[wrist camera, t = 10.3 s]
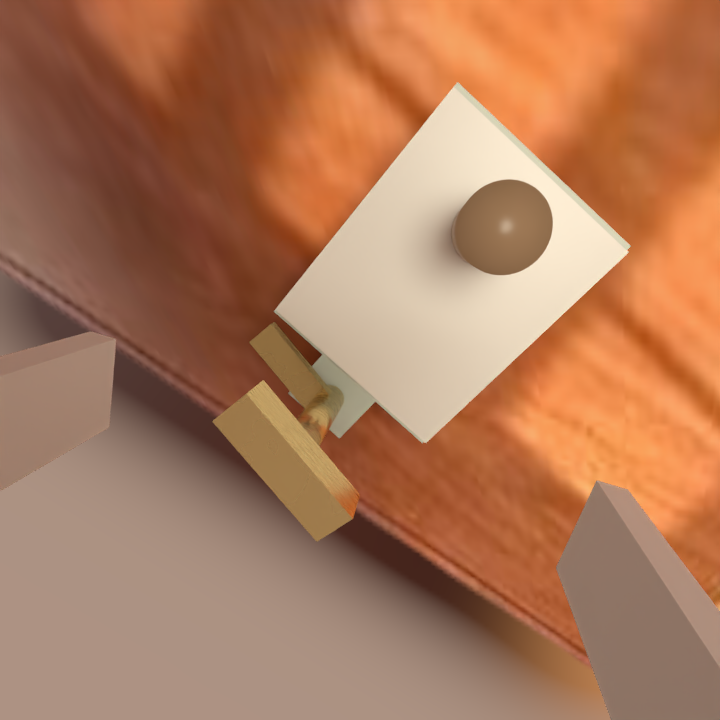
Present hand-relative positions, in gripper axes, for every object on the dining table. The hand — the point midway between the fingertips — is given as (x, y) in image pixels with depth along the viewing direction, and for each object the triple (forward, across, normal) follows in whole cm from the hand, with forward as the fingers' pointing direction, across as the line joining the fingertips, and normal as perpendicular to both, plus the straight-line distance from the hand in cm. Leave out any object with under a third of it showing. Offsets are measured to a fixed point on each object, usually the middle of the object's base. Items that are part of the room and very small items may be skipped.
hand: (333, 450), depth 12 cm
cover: (+19, +2, +3) cm, 19 cm away
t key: (+19, -4, -6) cm, 20 cm away
